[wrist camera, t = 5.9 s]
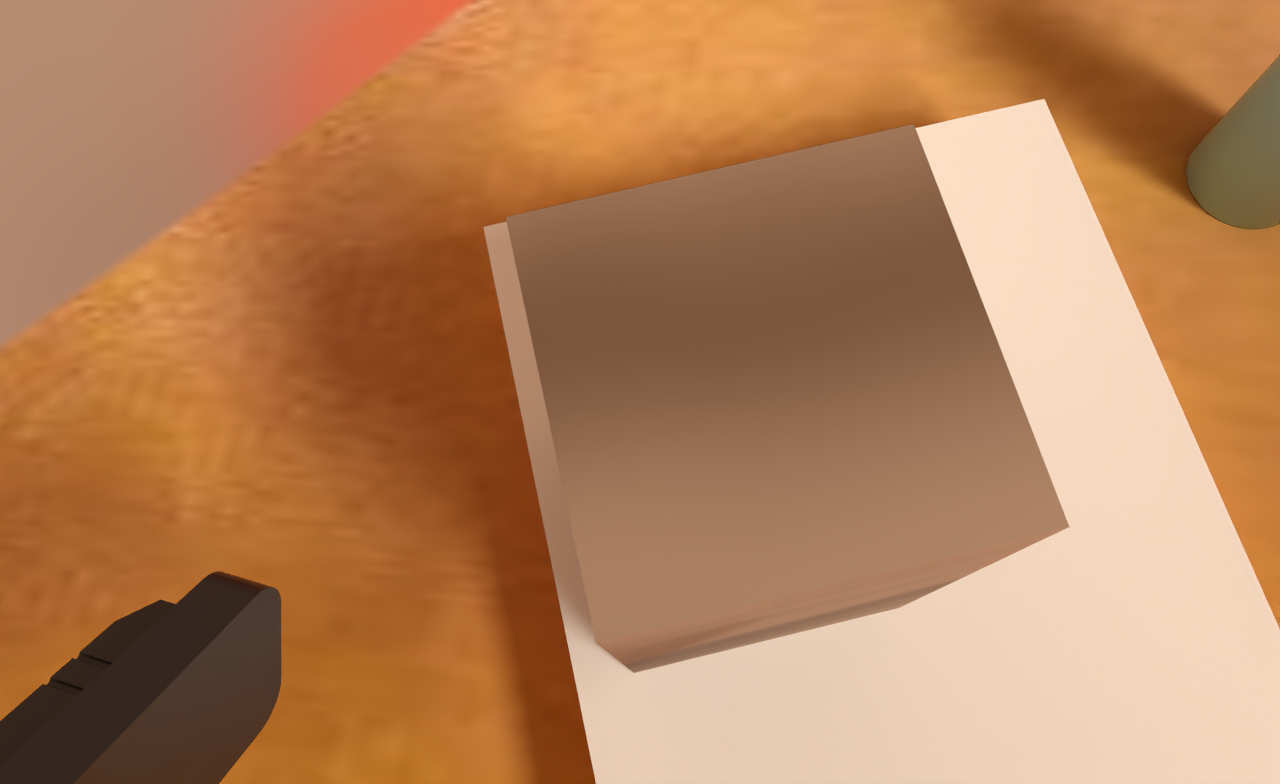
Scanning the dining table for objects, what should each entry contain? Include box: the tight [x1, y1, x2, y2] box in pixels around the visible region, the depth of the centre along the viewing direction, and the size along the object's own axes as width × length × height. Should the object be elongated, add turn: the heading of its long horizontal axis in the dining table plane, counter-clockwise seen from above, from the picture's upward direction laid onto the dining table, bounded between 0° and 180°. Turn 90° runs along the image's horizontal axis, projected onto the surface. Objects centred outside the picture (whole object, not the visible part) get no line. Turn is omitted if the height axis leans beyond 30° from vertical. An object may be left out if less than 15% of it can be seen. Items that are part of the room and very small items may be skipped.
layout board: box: [483, 99, 1280, 784], centre depth 22 cm, size 16×14×3 cm
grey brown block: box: [506, 124, 1069, 673], centre depth 16 cm, size 6×6×9 cm
